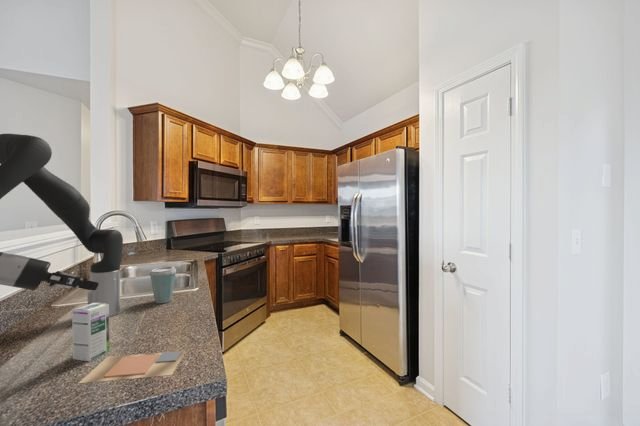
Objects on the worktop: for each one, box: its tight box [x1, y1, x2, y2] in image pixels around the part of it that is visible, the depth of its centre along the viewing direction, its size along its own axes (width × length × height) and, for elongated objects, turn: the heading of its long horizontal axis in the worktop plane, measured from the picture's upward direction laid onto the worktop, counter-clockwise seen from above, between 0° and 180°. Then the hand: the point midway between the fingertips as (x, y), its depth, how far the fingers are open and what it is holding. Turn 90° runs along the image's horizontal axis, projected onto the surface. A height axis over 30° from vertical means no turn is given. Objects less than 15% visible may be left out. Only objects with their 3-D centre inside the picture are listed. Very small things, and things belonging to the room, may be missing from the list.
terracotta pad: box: [104, 354, 159, 378], centre depth 72 cm, size 9×9×1 cm
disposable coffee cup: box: [149, 265, 177, 304], centre depth 127 cm, size 11×11×15 cm
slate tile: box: [156, 350, 183, 363], centre depth 76 cm, size 5×5×1 cm
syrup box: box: [71, 303, 110, 362], centre depth 77 cm, size 6×6×14 cm
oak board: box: [77, 350, 187, 385], centre depth 72 cm, size 20×12×1 cm, turn 100°
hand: (94, 286), depth 81 cm, fingers open, 8 cm apart
